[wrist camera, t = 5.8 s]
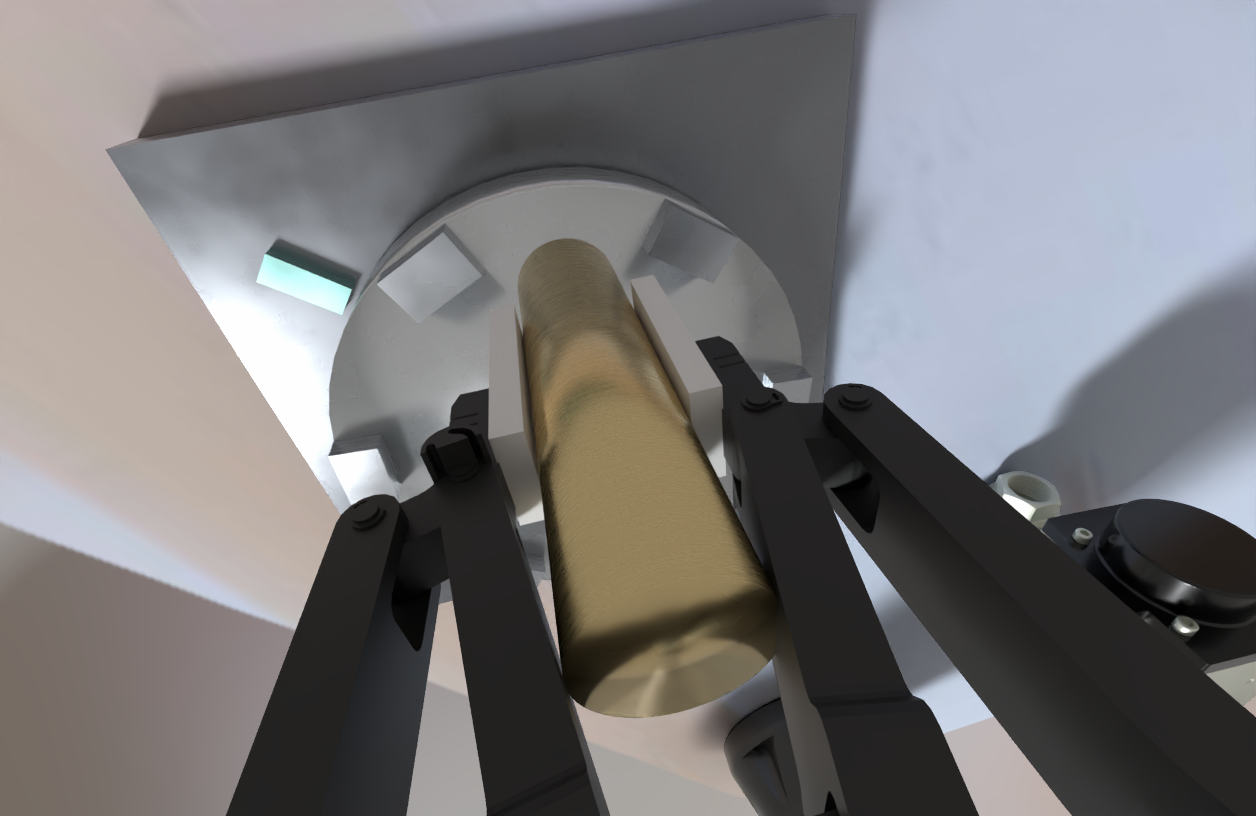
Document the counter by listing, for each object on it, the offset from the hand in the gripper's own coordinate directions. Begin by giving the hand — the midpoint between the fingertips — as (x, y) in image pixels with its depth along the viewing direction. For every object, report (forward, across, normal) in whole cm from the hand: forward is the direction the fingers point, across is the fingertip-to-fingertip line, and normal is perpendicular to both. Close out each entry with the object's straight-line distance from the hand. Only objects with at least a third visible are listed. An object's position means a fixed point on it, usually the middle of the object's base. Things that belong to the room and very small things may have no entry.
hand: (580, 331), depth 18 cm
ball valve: (+9, -27, +27) cm, 40 cm away
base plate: (+9, +1, +6) cm, 11 cm away
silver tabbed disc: (+6, +1, +6) cm, 9 cm away
